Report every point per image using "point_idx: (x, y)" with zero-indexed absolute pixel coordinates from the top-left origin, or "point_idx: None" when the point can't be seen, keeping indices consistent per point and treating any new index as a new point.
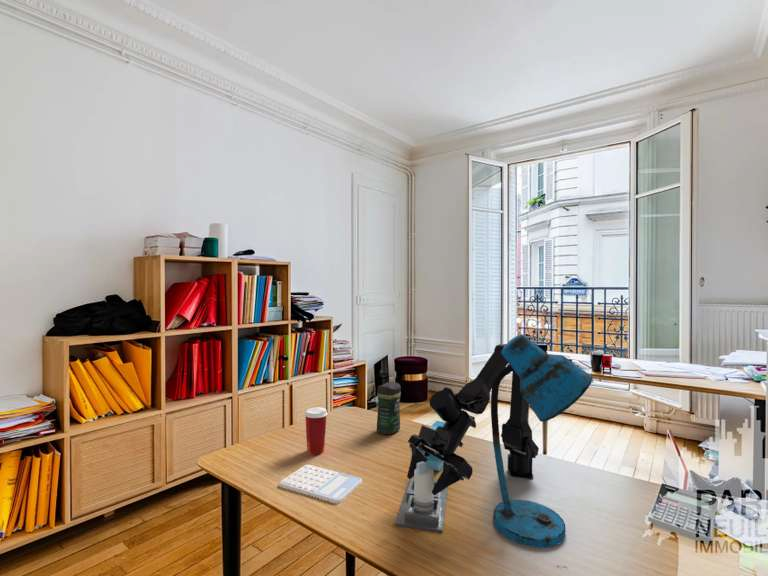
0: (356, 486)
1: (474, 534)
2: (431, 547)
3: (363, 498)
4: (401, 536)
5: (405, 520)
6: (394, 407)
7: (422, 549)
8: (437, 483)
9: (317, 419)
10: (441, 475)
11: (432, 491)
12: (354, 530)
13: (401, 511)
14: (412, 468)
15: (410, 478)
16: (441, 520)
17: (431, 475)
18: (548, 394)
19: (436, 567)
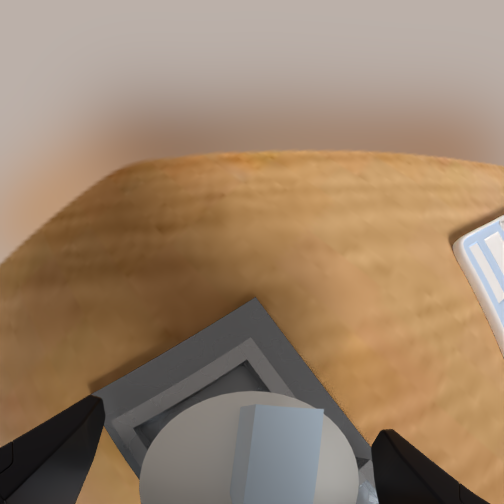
0: (501, 340)
1: None
2: (77, 298)
3: (449, 326)
4: (190, 272)
5: (239, 341)
6: None
7: (95, 270)
8: (52, 433)
9: None
10: (9, 475)
11: (93, 398)
12: (318, 195)
13: (300, 375)
14: (410, 479)
15: (372, 452)
16: (129, 451)
17: (141, 487)
18: None
19: (33, 240)
